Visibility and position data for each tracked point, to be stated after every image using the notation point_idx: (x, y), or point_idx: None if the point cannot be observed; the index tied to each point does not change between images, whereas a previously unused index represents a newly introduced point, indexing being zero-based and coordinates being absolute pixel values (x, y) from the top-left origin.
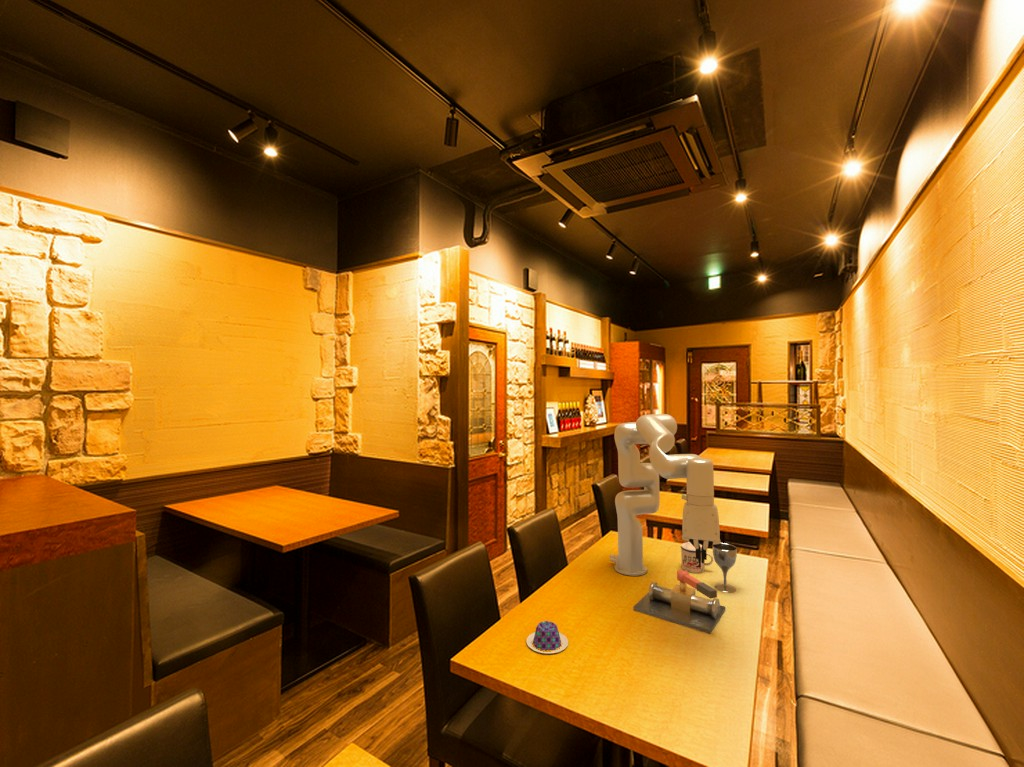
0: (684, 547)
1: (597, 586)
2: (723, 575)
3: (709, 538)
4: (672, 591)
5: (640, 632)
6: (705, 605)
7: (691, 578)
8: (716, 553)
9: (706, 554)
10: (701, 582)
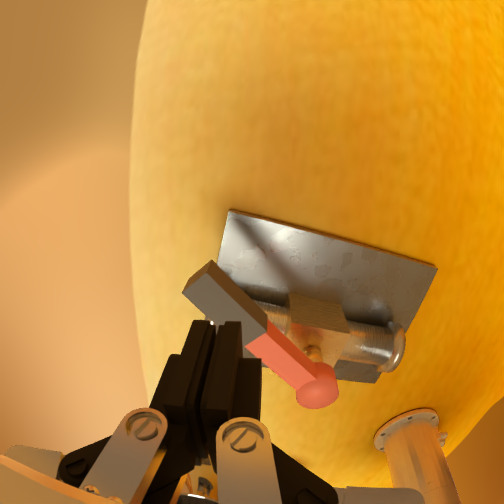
0: None
1: (487, 340)
2: None
3: (14, 496)
4: (345, 332)
5: (418, 147)
6: None
7: (286, 365)
8: (215, 489)
9: (158, 383)
10: (247, 344)
